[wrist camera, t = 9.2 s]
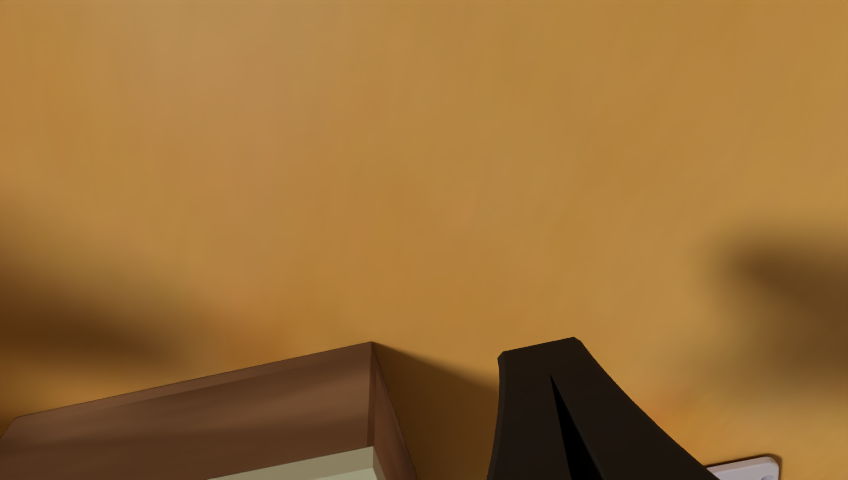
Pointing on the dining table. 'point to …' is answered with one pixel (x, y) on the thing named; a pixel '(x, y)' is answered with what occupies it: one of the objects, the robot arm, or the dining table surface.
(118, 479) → the walnut box
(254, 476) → the lid
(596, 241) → the dining table surface
